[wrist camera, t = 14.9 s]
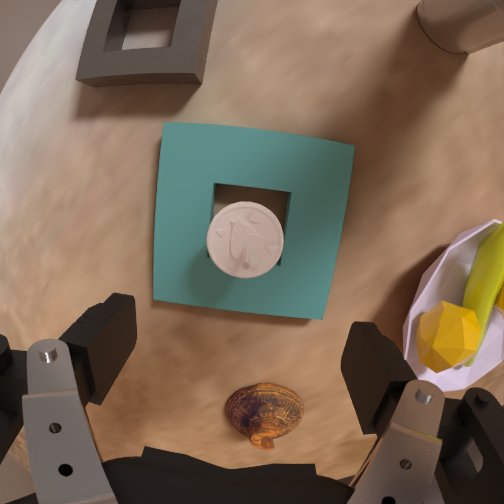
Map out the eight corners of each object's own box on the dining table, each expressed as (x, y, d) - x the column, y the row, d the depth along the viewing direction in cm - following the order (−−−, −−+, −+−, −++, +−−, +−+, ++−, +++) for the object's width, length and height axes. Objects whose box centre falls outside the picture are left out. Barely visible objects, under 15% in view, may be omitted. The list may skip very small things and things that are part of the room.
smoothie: (232, 256, 35) (219, 313, 22) (210, 205, 33) (180, 233, 20) (284, 235, 34) (303, 282, 21) (263, 183, 33) (269, 196, 19)
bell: (252, 369, 40) (251, 405, 33) (318, 398, 42) (326, 433, 35) (212, 414, 43) (207, 448, 36) (275, 438, 45) (276, 471, 38)
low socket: (348, 146, 31) (355, 145, 29) (318, 310, 37) (322, 319, 35) (170, 124, 31) (163, 122, 28) (159, 291, 36) (153, 299, 34)
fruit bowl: (480, 367, 41) (510, 402, 30) (361, 369, 40) (385, 423, 29) (533, 222, 33) (579, 240, 22) (420, 176, 32) (477, 185, 21)
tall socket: (220, -12, 26) (216, -31, 21) (202, 84, 29) (194, 73, 25) (117, -4, 25) (103, -18, 21) (93, 87, 29) (75, 79, 25)
